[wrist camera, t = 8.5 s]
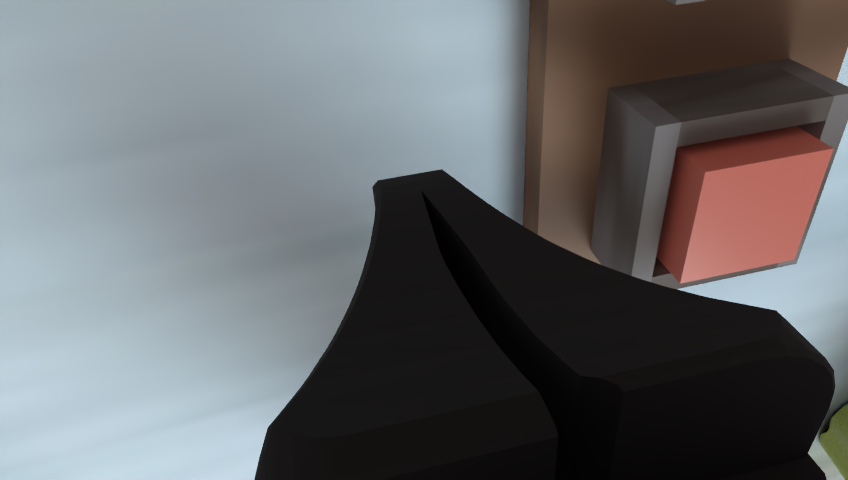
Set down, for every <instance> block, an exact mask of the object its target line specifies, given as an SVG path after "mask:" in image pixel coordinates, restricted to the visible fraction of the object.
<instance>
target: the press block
mask: <svg viewBox="0 0 848 480" xmlns="http://www.w3.org/2000/svg"><path fill="white" fill-rule="evenodd" d="M847 47H848V0H530V21H529V54H528V87H527V120H526V153H525V186H524V219H523V226H524V227H525V228H527V229H529V230H530V231H532V232H534V233H536V234H537V235H539V236H541V237H543V238H544V239H546V240H548V241H550V242H552V243H554V244H556V245H558V246H560V247H562V248H564V249H567V250H569V251H571V252H573V253H575V254H577V255H580V256H582V257H584V258H586V259H588V260H591V261H593V262H596V263H598V264H601V265H603V266H606V267H608V268H611V269H614V270H617V271H619V272H622V273H625V274H628V275H631V276H633V277H636V278H639V279H642V280H646V281H649V282H652V283H655V284H659V285H662V286H665V287H669V288H673V289H679V288H684V287H688V286H693V285H698V284H703V283H707V282H712V281H717V280H721V279H726V278H731V277H736V276H740V275H745V274H750V273H754V272H759V271H764V270H769V269H773V268H778V267H783V266H787V265H792V264H796V263H797V260H798V258H799V255H800V252H801V249H802V246H803V244H804V241H805V238H806V235H807V232H808V230H809V227H810V224H811V221H812V219H813V216H814V213H815V210H816V207H817V205H818V202H819V199H820V196H821V193H822V191H823V188H824V185H825V182H826V180H827V177H828V174H829V171H830V168H831V166H832V163H833V160H834V157H835V154H836V152H837V149H838V146H839V143H840V141H841V138H842V135H843V132H844V129H845V127H846V124H847V121H848V87H847V86H845V85H843V84H841V83H839V82H837V81H836V80H837V77H838V74H839V71H840V68H841V65H842V62H843V59H844V56H845V53H846V50H847ZM792 126H798V127H799V128H801V129H802V130H804V131H806V132H807V133H809V134H811V135H812V136H814V137H816V138H817V139H819V140H821V141H822V142H824V143H826V144H827V145H829V146H831V147H832V148H834V150H833V152H832V155H831V158H830V161H829V164H828V166H827V169H826V172H825V175H824V178H823V181H822V183H821V186H820V189H819V192H818V195H817V197H816V200H815V203H814V206H813V209H812V212H811V214H810V217H809V220H808V223H807V226H806V228H805V231H804V234H803V237H802V240H801V243H800V245H799V248H798V251H797V254H796V257H795V259H794V260H790V261H785V262H781V263H776V264H771V265H766V266H762V267H757V268H752V269H748V270H743V271H738V272H733V273H729V274H724V275H719V276H714V277H710V278H705V279H700V280H695V281H691V282H686V283H681V284H680V283H679V282H678V281H677V280H676V278H675V277H674V276H673V275H672V274H671V273H670V272H669V270H668V269H667V268H666V267H665V266H664V265H663V264H662V263H661V261H660V260H659V259H658V258H657V257H656V254H657V249H658V244H659V238H660V233H661V228H662V223H663V217H664V212H665V207H666V201H667V196H668V191H669V186H670V180H671V175H672V170H673V164H674V159H675V154H676V148H677V147H680V146H686V145H691V144H697V143H702V142H708V141H714V140H719V139H725V138H730V137H736V136H742V135H747V134H753V133H759V132H764V131H770V130H775V129H781V128H787V127H792Z"/></svg>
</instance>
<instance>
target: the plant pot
mask: <svg viewBox="0 0 848 480" xmlns="http://www.w3.org/2000/svg"><path fill="white" fill-rule="evenodd" d="M820 443H821V446H822V447H823V449H824V450H825V452H826V453H827V454H828V456H829V457H830V459H831V460H832V462H833V463H834V464H835V466H836V467H837V469H838V470H839V472H840V473H841V474H842V476H843V477H844V479H845V480H848V404H847V405H845V406H844V407H842V408H841V409H840V410H839V411H838V412H837V413H836V414H835V415H834V416H833V417H832V418H831V421H830V427H829V429H828V431H827V432H826V433H822V434H821V437H820Z"/></svg>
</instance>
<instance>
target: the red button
mask: <svg viewBox="0 0 848 480" xmlns="http://www.w3.org/2000/svg"><path fill="white" fill-rule="evenodd" d="M833 150H834V148H832V147H831V146H829V145H827V144H826V143H824V142H822V141H821V140H819V139H817V138H816V137H814V136H812V135H811V134H809V133H807V132H806V131H804V130H802V129H801V128H799V127H798V126H792V127H787V128H781V129H775V130H770V131H764V132H759V133H753V134H747V135H742V136H736V137H730V138H725V139H719V140H714V141H708V142H702V143H697V144H691V145H686V146H680V147H677V148H676V154H675V159H674V164H673V170H672V175H671V180H670V186H669V191H668V196H667V201H666V207H665V212H664V217H663V223H662V228H661V233H660V238H659V244H658V249H657V254H656V257H657V258H658V259H659V260H660V261H661V263H662V264H663V265H664V266H665V267H666V268H667V269H668V270H669V272H670V273H671V274H672V275H673V276H674V277H675V278H676V280H677V281H678V282H679V283H680V284H681V283H686V282H691V281H695V280H700V279H705V278H710V277H714V276H719V275H724V274H729V273H733V272H738V271H743V270H748V269H752V268H757V267H762V266H766V265H771V264H776V263H781V262H785V261H790V260H794V259H795V257H796V254H797V251H798V248H799V245H800V243H801V240H802V237H803V234H804V231H805V228H806V226H807V223H808V220H809V217H810V214H811V212H812V209H813V206H814V203H815V200H816V197H817V195H818V192H819V189H820V186H821V183H822V181H823V178H824V175H825V172H826V169H827V166H828V164H829V161H830V158H831V155H832V152H833Z"/></svg>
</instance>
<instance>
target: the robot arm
mask: <svg viewBox="0 0 848 480" xmlns="http://www.w3.org/2000/svg"><path fill="white" fill-rule="evenodd" d="M373 194H374V201H375V220H374V226H373V231H372V237H371V243H370V247H369V250H368V254H367V258H366V261H365V265H364V268H363V272H362V275H361V278H360V280H359V283H358V286H357V289H356V291H355V294H354V296H353V298H352V301H351V303H350V306H349V308H348V310H347V312H346V314H345V316H344V318H343V320H342V322H341V324H340V326H339V328H338V330H337V332H336V334H335V336H334V337H333V339H332V341H331V343H330V344H329V346H328V348H327V349H326V351H325V352H324V354H323V355H322V357H321V358H320V360H319V361H318V363H317V364H316V366H315V368H314V369H313V371H312V372H311V374H310V375H309V377H308V378H307V380H306V381H305V382H304V384H303V385H302V386H301V388H300V389H299V390H298V392H297V393H296V394H295V395H294V396H293V398H292V399H291V400H290V401H289V403H288V404H287V405H286V406H285V408H284V409H283V410H282V411H281V412H280V414H279V415H278V416H277V417H276V419H275V420H274V421H273V422H272V423H271V424H270V426H269V427H268V429H267V433H266V436H265V440H264V443H263V447H262V451H261V454H260V458H259V462H258V467H257V471H256V475H255V480H826V476H825V473H824V472H823V471H822V470H821V469H820V467H819V466H818V465H817V464H816V463H815V461H814V460H813V459H812V458H811V457H810V456H809V454H808V451H809V449H810V447H811V445H812V443H813V441H814V439H815V437H816V435H817V433H818V430H819V428H820V426H821V424H822V422H823V420H824V418H825V416H826V414H827V412H828V410H829V407H830V404H831V400H832V397H833V394H834V390H835V379H834V370H833V368H832V367H831V366H830V364H829V363H828V361H827V360H826V358H825V357H824V356H823V355H822V354H821V353H820V352H819V351H818V350H817V349H816V348H815V347H814V346H813V345H811V344H810V343H809V342H808V341H807V340H806V339H805V338H804V337H803V336H802V335H801V334H800V333H799V332H798V331H797V330H796V329H795V328H794V327H793V326H792V325H791V324H790V323H789V322H788V321H787V320H786V319H785V318H784V317H782V316H781V315H780V314H779V313H778V312H777V311H775V310H770V309H765V308H759V307H754V306H749V305H744V304H739V303H734V302H728V301H723V300H718V299H713V298H708V297H704V296H699V295H696V294H692V293H688V292H684V291H681V290H677V289H673V288H669V287H665V286H662V285H659V284H655V283H652V282H649V281H646V280H642V279H639V278H636V277H633V276H631V275H628V274H625V273H622V272H619V271H617V270H614V269H611V268H608V267H606V266H603V265H601V264H598V263H596V262H593V261H591V260H588V259H586V258H584V257H582V256H580V255H577V254H575V253H573V252H571V251H569V250H567V249H564V248H562V247H560V246H558V245H556V244H554V243H552V242H550V241H548V240H546V239H544V238H543V237H541V236H539V235H537V234H536V233H534V232H532V231H530V230H529V229H527V228H525V227H524V226H522V225H520V224H518V223H517V222H515V221H514V220H512V219H510V218H509V217H507V216H506V215H504V214H503V213H501V212H500V211H498V210H497V209H495V208H494V207H492V206H491V205H489V204H488V203H487V202H485V201H484V200H482V199H481V198H479V197H478V196H477V195H475V194H474V193H473V192H471V191H470V190H469V189H467V188H466V187H465V186H463V185H462V184H461V183H459V182H458V181H457V180H455V179H454V178H453V177H451V176H450V175H449V174H447V173H446V172H445V171H443V170H436V171H430V172H424V173H419V174H413V175H407V176H401V177H396V178H390V179H384V180H378V181H377V182H376V183H375V185H374V186H373Z"/></svg>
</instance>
